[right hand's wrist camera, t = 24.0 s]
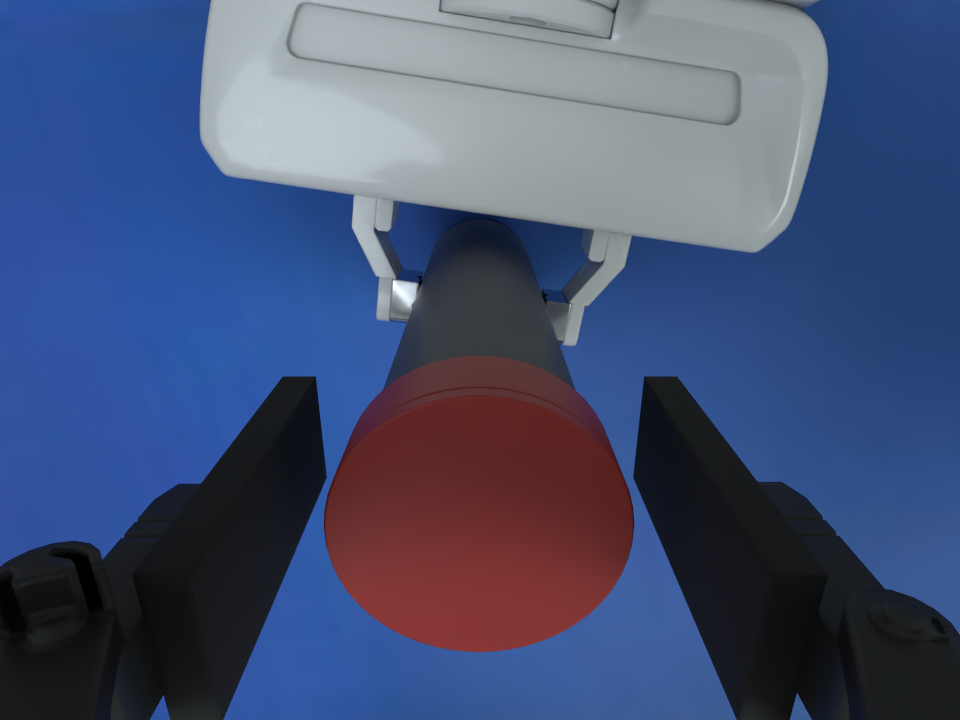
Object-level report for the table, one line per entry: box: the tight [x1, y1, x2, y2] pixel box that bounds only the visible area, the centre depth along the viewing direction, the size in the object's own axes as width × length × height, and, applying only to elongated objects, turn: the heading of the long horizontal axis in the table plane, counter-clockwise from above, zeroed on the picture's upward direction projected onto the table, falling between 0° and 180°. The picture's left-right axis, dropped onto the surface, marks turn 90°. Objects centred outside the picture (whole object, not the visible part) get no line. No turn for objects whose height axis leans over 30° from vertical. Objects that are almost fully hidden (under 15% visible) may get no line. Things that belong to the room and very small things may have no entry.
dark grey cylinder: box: [383, 219, 576, 391], centre depth 21 cm, size 5×5×20 cm
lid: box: [324, 356, 634, 652], centre depth 12 cm, size 6×6×2 cm
